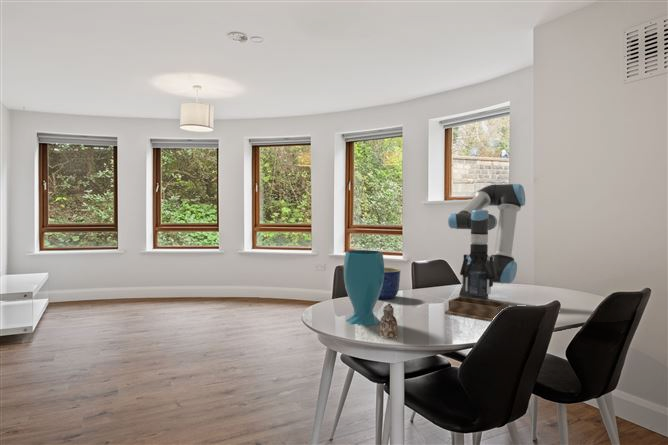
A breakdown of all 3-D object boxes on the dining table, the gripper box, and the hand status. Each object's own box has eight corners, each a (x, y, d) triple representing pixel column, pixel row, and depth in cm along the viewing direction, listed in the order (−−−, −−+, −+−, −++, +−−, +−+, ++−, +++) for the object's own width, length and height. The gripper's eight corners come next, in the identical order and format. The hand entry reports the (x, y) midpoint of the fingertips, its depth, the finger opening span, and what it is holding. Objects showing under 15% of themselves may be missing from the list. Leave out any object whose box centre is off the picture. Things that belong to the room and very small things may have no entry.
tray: (444, 313, 209) (445, 300, 208) (459, 307, 221) (459, 295, 221) (498, 322, 193) (498, 309, 192) (511, 316, 205) (511, 302, 205)
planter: (405, 296, 247) (405, 268, 246) (391, 302, 233) (392, 272, 232) (377, 293, 256) (377, 266, 256) (363, 298, 242) (363, 270, 241)
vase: (372, 328, 182) (372, 255, 181) (335, 322, 191) (336, 252, 190) (389, 319, 197) (390, 251, 196) (355, 314, 206) (356, 249, 205)
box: (488, 295, 203) (489, 272, 203) (478, 296, 201) (478, 273, 201) (477, 292, 211) (477, 270, 210) (467, 293, 209) (467, 270, 208)
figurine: (376, 337, 171) (377, 305, 170) (381, 332, 178) (382, 302, 177) (395, 339, 168) (395, 307, 168) (399, 334, 175) (399, 303, 175)
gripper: (453, 242, 210) (451, 290, 210) (500, 245, 195) (499, 296, 196) (459, 241, 215) (458, 288, 216) (506, 244, 201) (505, 294, 202)
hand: (477, 292), depth 206 cm, fingers closed on box, 9 cm apart
